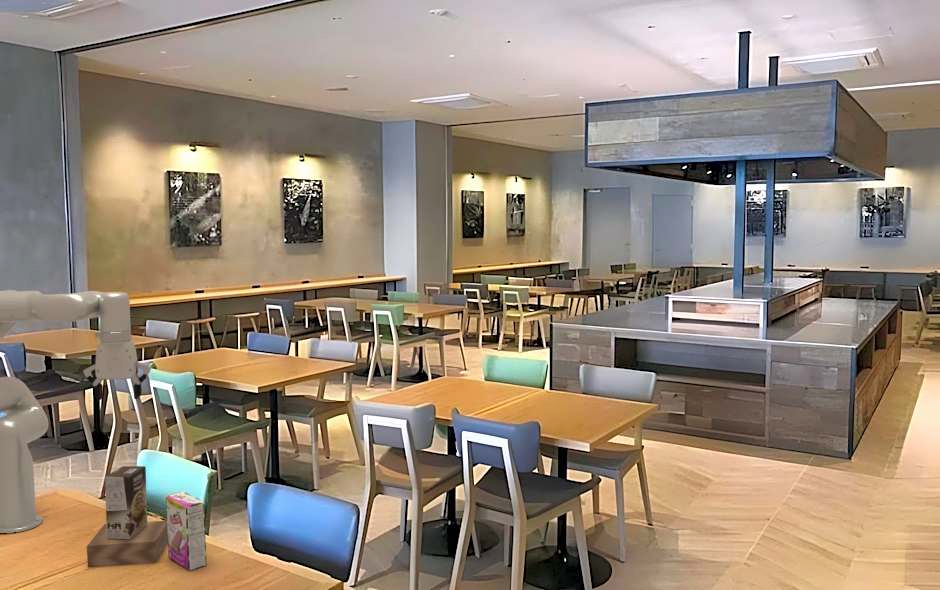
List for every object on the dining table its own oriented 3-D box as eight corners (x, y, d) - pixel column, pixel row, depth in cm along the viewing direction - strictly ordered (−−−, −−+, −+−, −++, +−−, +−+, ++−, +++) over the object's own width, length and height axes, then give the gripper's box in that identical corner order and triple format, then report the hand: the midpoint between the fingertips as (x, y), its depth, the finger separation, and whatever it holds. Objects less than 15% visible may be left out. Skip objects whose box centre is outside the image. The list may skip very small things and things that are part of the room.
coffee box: (130, 540, 192) (128, 477, 190) (105, 539, 192) (103, 476, 191) (148, 525, 201) (146, 465, 199) (124, 525, 201) (122, 464, 200)
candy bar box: (166, 558, 194) (164, 495, 192) (185, 552, 197) (183, 490, 196) (188, 572, 186) (186, 506, 185) (207, 565, 190) (205, 500, 188)
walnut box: (87, 569, 189) (86, 545, 188) (105, 546, 203) (104, 524, 202) (156, 564, 191) (155, 541, 191) (169, 542, 205) (168, 520, 205)
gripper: (77, 339, 205) (80, 403, 206) (145, 338, 208) (148, 400, 209) (86, 336, 212) (89, 397, 214) (152, 334, 215) (155, 394, 217)
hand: (118, 398), depth 212 cm, fingers open, 9 cm apart
